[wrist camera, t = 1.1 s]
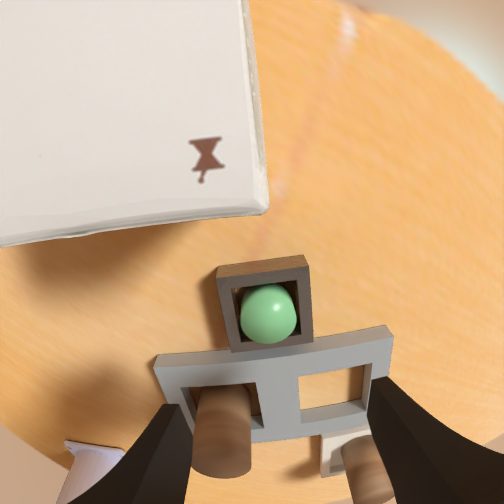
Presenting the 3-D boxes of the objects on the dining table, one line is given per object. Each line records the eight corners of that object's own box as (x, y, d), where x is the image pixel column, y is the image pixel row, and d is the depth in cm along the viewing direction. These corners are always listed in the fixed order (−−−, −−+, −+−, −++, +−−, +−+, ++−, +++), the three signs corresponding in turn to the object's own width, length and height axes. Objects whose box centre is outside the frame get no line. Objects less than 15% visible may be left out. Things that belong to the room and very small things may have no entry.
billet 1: (253, 409, 22) (255, 477, 16) (206, 413, 22) (198, 478, 16) (246, 375, 21) (246, 447, 15) (195, 379, 21) (181, 449, 15)
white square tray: (388, 453, 25) (391, 461, 24) (319, 469, 26) (321, 478, 25) (401, 410, 23) (405, 419, 22) (320, 429, 23) (322, 439, 22)
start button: (294, 323, 19) (298, 340, 17) (245, 329, 19) (245, 346, 17) (290, 278, 18) (294, 292, 16) (237, 285, 18) (236, 300, 16)
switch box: (308, 326, 20) (313, 342, 18) (232, 336, 20) (231, 352, 18) (303, 254, 18) (308, 265, 16) (218, 266, 18) (215, 278, 17)
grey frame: (374, 409, 23) (379, 421, 21) (190, 432, 23) (187, 445, 22) (385, 324, 20) (393, 336, 18) (158, 354, 20) (152, 367, 19)
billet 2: (375, 451, 25) (392, 501, 18) (339, 460, 25) (351, 512, 19) (380, 430, 23) (401, 484, 17) (341, 439, 23) (356, 497, 17)
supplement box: (246, 44, 14) (242, -121, 2) (257, 171, 17) (280, 231, 5) (119, 65, 14) (-40, -8, 2) (128, 186, 17) (-41, 264, 5)
